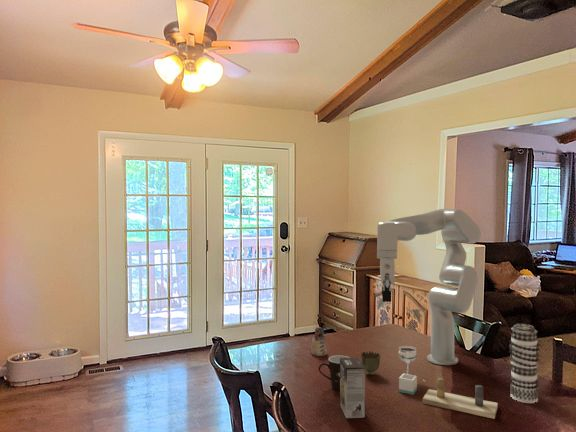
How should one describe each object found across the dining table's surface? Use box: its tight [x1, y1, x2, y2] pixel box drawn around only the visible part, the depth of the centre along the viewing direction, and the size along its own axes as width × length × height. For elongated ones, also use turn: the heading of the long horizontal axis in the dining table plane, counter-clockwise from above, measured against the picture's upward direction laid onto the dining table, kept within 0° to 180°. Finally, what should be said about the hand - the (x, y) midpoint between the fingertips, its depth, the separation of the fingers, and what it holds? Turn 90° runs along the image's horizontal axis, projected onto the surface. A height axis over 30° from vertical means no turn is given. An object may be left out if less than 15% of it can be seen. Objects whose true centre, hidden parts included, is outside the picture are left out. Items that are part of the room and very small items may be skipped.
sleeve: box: [398, 372, 418, 396], centre depth 158 cm, size 5×5×5 cm
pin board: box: [422, 377, 499, 420], centre depth 146 cm, size 9×22×8 cm, turn 59°
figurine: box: [310, 326, 328, 357], centre depth 198 cm, size 7×7×12 cm
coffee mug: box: [318, 355, 351, 391], centre depth 162 cm, size 12×9×10 cm
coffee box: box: [339, 357, 366, 419], centre depth 142 cm, size 9×6×16 cm
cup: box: [360, 351, 381, 377], centre depth 173 cm, size 8×7×8 cm
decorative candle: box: [508, 323, 541, 404], centre depth 151 cm, size 9×9×25 cm
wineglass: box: [398, 345, 418, 374], centre depth 168 cm, size 7×7×12 cm
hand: (386, 299), depth 168 cm, fingers open, 9 cm apart
